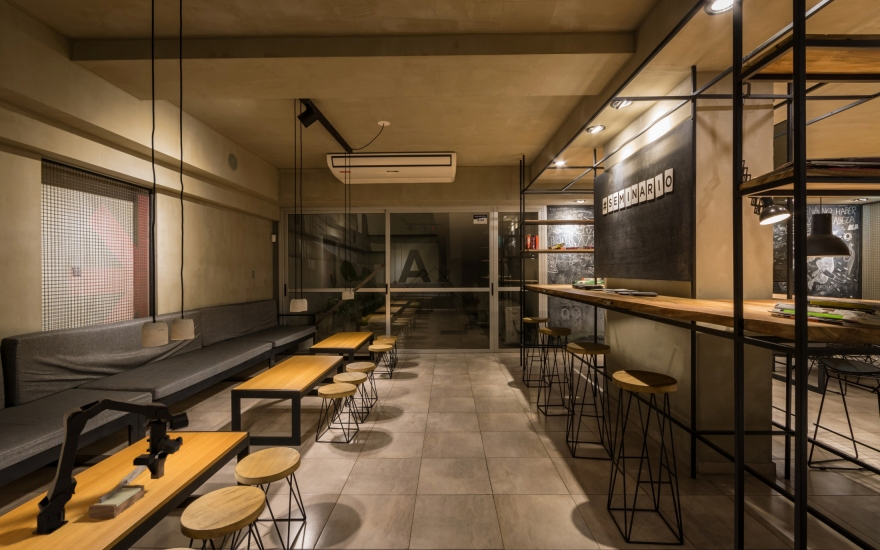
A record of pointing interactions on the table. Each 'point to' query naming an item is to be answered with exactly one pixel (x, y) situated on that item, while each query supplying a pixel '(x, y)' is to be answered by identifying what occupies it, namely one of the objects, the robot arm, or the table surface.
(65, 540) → the table surface
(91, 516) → the wooden tray
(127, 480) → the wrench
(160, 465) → the brown rectangular block
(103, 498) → the cream cabinet door
